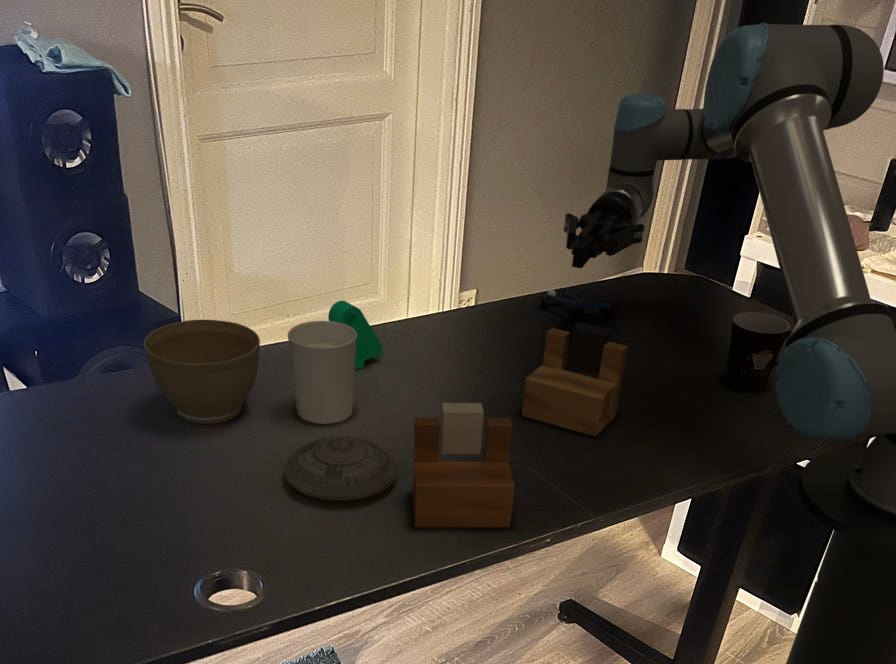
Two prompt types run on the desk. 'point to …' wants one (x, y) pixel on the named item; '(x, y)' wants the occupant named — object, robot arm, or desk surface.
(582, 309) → the person figurine
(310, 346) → the white tumbler cup
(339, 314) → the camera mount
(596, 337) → the black block
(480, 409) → the ivory key
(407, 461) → the desk surface
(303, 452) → the flying saucer
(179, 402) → the planter bowl
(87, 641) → the desk surface
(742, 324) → the coffee mug
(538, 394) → the far stand
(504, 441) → the near stand
